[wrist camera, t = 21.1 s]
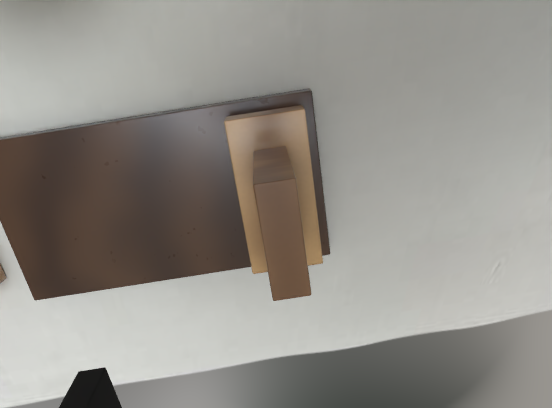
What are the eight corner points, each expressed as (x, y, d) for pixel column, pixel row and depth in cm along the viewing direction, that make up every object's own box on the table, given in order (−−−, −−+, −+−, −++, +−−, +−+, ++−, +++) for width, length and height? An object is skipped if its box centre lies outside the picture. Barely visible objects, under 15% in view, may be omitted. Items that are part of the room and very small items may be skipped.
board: (309, 88, 35) (311, 90, 33) (327, 247, 40) (330, 254, 39) (-22, 141, 35) (-33, 145, 33) (41, 291, 40) (34, 300, 39)
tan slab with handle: (300, 102, 33) (321, 130, 23) (317, 244, 38) (341, 323, 27) (226, 113, 33) (213, 146, 23) (252, 254, 38) (252, 337, 28)
